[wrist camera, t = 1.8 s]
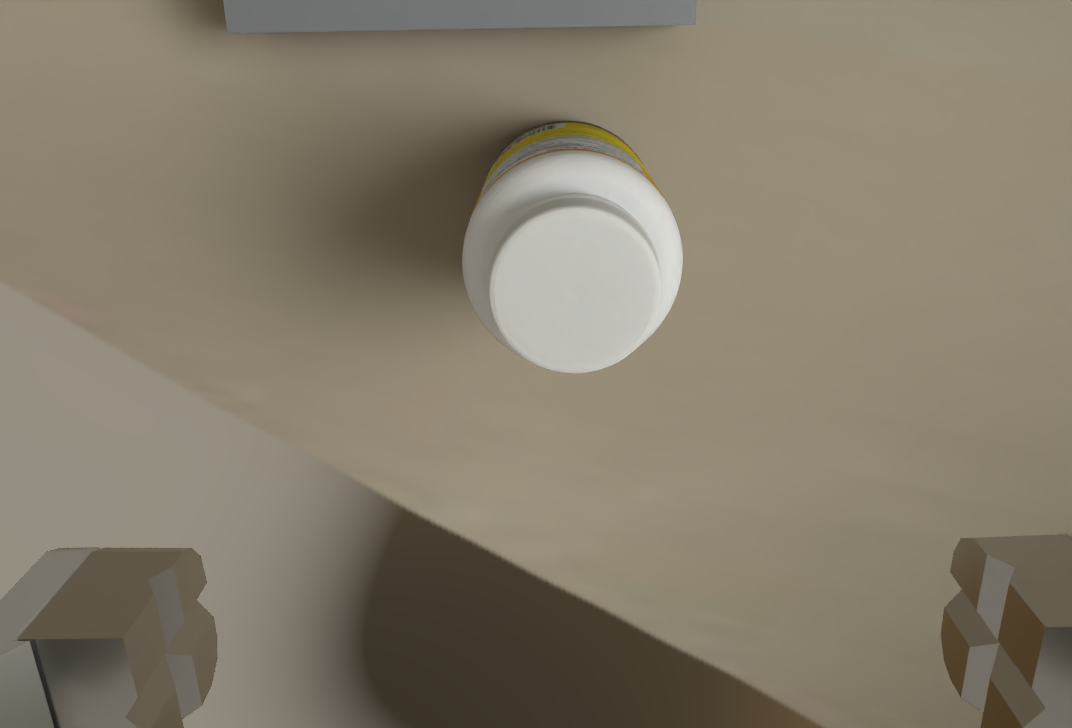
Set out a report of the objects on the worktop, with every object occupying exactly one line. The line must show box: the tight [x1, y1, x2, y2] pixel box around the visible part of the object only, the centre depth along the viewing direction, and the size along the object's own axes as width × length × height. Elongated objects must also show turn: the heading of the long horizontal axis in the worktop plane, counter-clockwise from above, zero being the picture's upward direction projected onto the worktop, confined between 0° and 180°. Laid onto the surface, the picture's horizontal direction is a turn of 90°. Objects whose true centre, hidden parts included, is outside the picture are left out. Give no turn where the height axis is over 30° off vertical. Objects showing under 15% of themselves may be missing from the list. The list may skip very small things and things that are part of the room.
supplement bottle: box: [462, 121, 683, 373], centre depth 25 cm, size 6×6×10 cm
